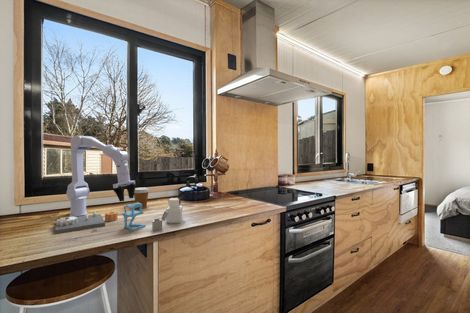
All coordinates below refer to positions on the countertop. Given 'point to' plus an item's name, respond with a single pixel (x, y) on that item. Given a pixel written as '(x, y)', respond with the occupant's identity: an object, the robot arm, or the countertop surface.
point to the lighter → (158, 222)
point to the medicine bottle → (174, 211)
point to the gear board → (79, 223)
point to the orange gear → (111, 216)
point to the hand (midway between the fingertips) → (126, 199)
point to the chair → (133, 215)
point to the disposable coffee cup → (141, 196)
